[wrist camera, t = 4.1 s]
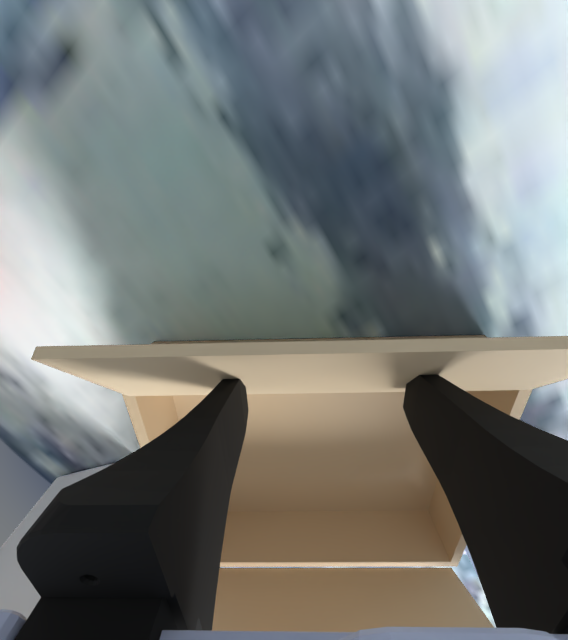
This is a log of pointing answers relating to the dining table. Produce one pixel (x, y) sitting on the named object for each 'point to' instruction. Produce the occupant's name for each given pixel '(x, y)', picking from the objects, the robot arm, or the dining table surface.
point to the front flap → (315, 365)
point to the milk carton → (3, 568)
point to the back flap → (342, 599)
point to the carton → (329, 477)
